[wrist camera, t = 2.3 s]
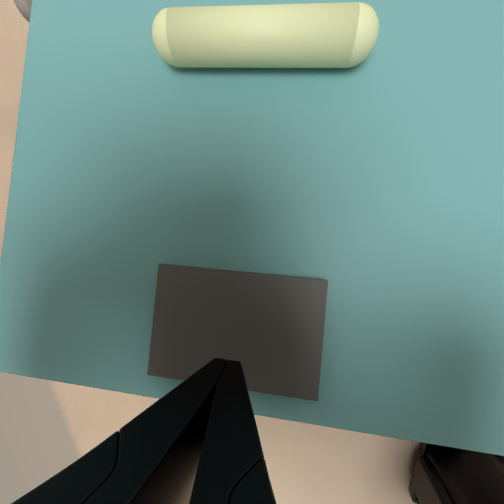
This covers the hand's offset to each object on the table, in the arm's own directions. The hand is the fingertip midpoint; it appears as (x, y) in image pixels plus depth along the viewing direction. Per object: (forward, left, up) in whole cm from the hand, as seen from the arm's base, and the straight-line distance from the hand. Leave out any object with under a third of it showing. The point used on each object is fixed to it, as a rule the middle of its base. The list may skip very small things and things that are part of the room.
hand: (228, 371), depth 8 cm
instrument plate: (0, -6, -4) cm, 7 cm away
